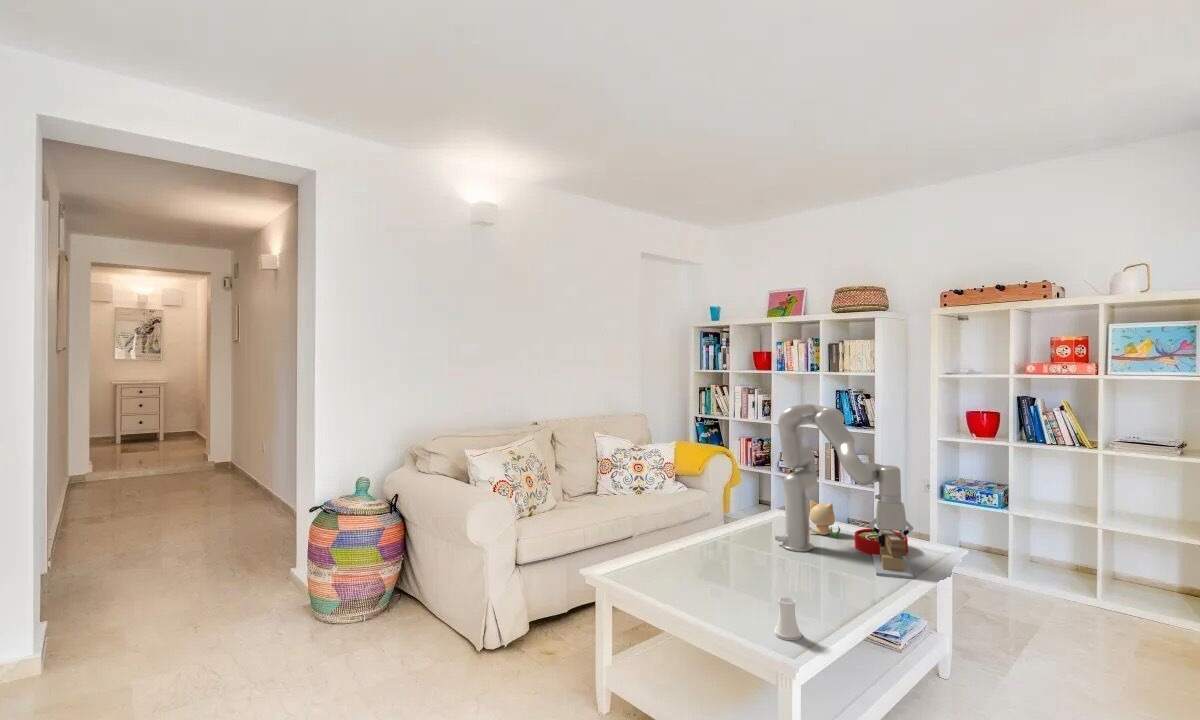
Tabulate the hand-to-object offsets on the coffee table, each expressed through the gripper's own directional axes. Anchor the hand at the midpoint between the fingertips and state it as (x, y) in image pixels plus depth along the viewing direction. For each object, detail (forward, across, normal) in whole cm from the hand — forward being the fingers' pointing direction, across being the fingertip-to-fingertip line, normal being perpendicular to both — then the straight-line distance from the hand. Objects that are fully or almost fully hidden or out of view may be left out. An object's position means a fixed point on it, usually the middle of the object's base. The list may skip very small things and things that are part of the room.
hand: (891, 546), depth 231 cm
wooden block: (+1, 0, 0) cm, 1 cm away
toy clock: (+9, -2, +23) cm, 24 cm away
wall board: (+8, 0, 0) cm, 8 cm away
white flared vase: (+8, -34, -70) cm, 78 cm away
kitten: (+8, -25, +38) cm, 46 cm away
